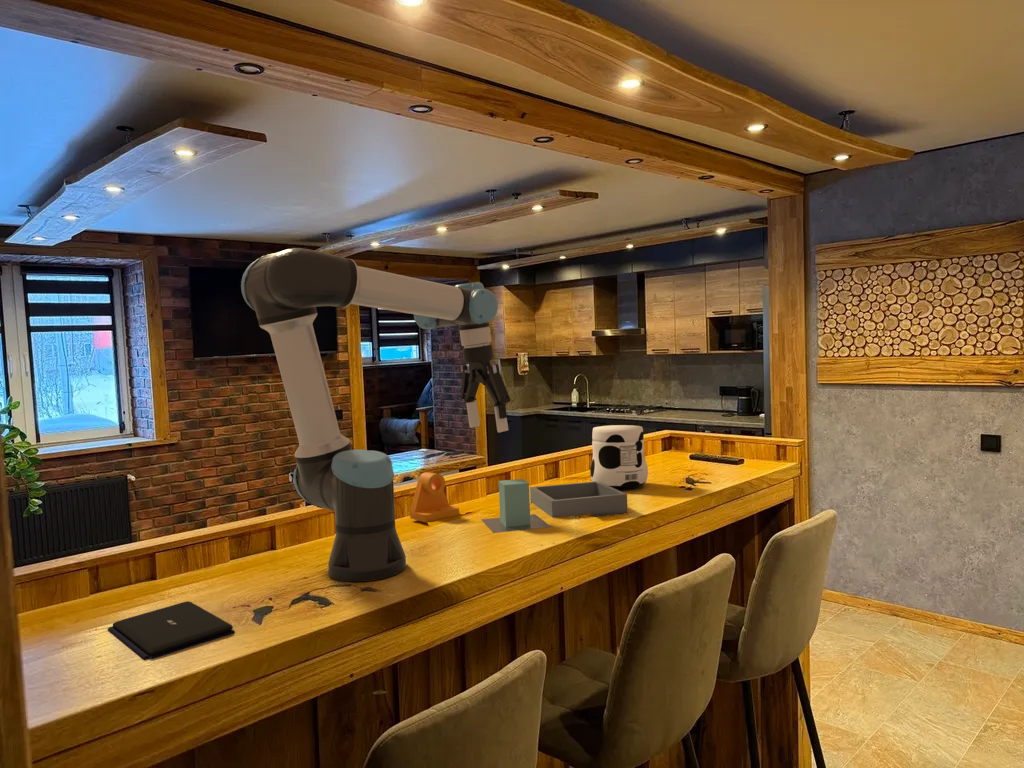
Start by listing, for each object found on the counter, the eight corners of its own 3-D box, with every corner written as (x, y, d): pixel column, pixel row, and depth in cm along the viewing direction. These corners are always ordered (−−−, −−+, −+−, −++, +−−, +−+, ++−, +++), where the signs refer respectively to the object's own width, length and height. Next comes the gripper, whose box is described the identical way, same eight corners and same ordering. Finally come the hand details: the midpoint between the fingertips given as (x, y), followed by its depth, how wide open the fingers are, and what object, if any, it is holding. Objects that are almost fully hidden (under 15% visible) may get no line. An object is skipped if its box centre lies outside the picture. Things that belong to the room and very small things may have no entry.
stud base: (493, 537, 163) (492, 511, 163) (481, 523, 177) (480, 499, 177) (551, 531, 167) (550, 505, 166) (535, 518, 180) (534, 494, 180)
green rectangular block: (506, 527, 168) (504, 485, 168) (500, 521, 174) (498, 480, 174) (530, 524, 170) (528, 482, 169) (523, 519, 175) (522, 478, 175)
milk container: (607, 479, 229) (605, 424, 228) (657, 483, 219) (655, 425, 218) (580, 489, 215) (578, 430, 214) (632, 494, 205) (630, 432, 204)
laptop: (123, 670, 101) (122, 656, 101) (105, 629, 117) (105, 617, 117) (238, 640, 110) (238, 627, 110) (207, 606, 126) (207, 594, 126)
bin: (552, 521, 176) (551, 501, 176) (530, 505, 196) (530, 487, 195) (627, 513, 181) (627, 494, 181) (599, 498, 200) (598, 481, 200)
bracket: (426, 526, 177) (423, 478, 176) (410, 521, 183) (408, 475, 182) (461, 518, 184) (459, 472, 183) (445, 514, 189) (443, 469, 189)
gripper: (517, 342, 168) (528, 430, 171) (465, 343, 189) (476, 421, 192) (490, 347, 164) (502, 436, 167) (440, 348, 185) (451, 427, 188)
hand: (488, 429), depth 179 cm, fingers open, 13 cm apart
